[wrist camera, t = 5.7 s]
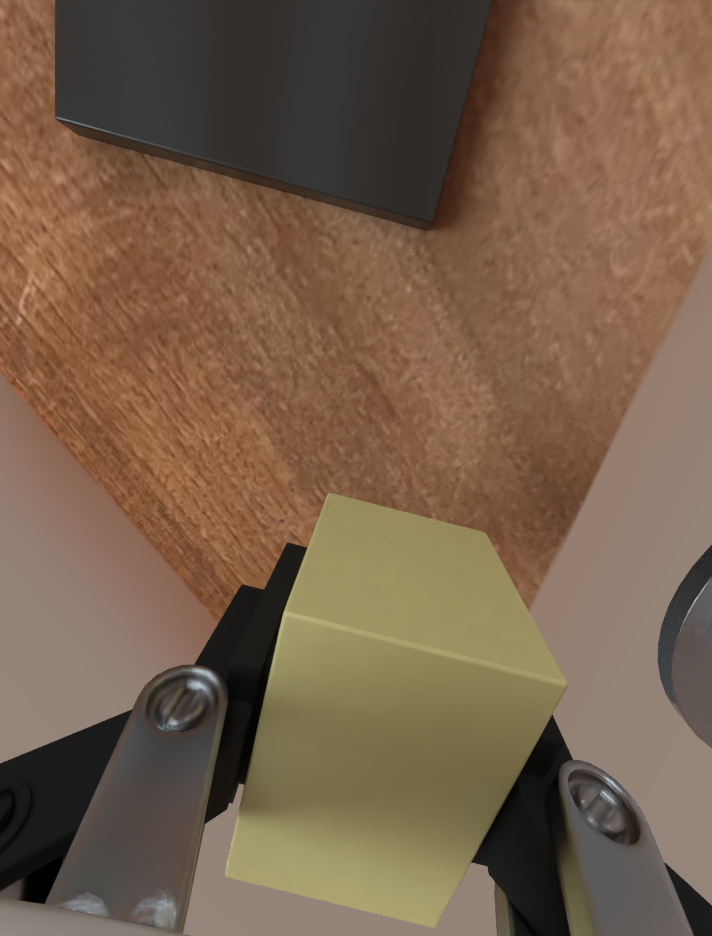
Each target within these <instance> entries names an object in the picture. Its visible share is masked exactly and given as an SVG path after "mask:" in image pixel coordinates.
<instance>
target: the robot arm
mask: <svg viewBox="0 0 712 936" xmlns="http://www.w3.org/2000/svg"><path fill="white" fill-rule="evenodd" d="M306 551H307V547H303V546H299V545H295V544H291V543H287V544H286V546H285V548H284V550H283V552H282V554H281V556H280V558H279V560H278V562H277V565H276V567H275V569H274V571H273V573H272V575H271V577H270V579H269V581H268V583H267V585H266V587H265V589H264V590H263V589H259V588H255V587H251V586H247V585H242V586H241V587H240V588H239V590H238V591H237V593H236V595H235V596H234V598H233V600H232V602H231V603H230V605H229V607H228V608H227V610H226V612H225V613H224V615H223V617H222V618H221V620H220V622H219V624H218V625H217V627H216V629H215V630H214V632H213V634H212V635H211V637H210V639H209V640H208V642H207V644H206V646H205V647H204V649H203V651H202V652H201V654H200V656H199V657H198V659H197V661H196V662H195V664H194V665H181V666H177V667H174V668H170V669H168V670H166V671H164V672H162V673H160V674H158V675H156V676H155V677H154V678H153V679H152V680H151V681H150V682H148V683H147V684H146V685H145V687H144V688H143V690H142V692H141V693H140V695H139V696H138V698H137V700H136V703H135V705H134V707H133V709H132V710H130V711H127V712H125V713H122V714H120V715H118V716H115V717H113V718H110V719H108V720H105V721H103V722H100V723H98V724H95V725H93V726H91V727H88V728H86V729H83V730H81V731H79V732H76V733H74V734H71V735H69V736H66V737H64V738H62V739H59V740H57V741H54V742H52V743H49V744H47V745H44V746H42V747H39V748H37V749H35V750H32V751H30V752H28V753H25V754H22V755H20V756H18V757H16V758H13V759H10V760H8V761H5V762H3V763H1V764H0V936H188V935H184V934H183V931H184V926H185V921H186V916H187V911H188V906H189V901H190V896H191V892H192V887H193V882H194V877H195V872H196V866H197V861H198V857H199V852H200V847H201V842H202V837H203V832H204V827H205V824H206V823H207V822H209V821H210V820H211V819H213V818H215V817H216V816H218V815H219V814H221V813H222V812H224V811H225V810H227V808H228V804H229V803H233V801H234V798H235V794H236V791H237V788H238V785H239V783H240V784H244V785H245V781H246V776H247V772H248V767H249V763H250V758H251V754H252V750H253V745H254V741H255V736H256V732H257V727H258V723H259V718H260V714H261V709H262V705H263V701H264V696H265V692H266V687H267V683H268V678H269V674H270V669H271V665H272V661H273V656H274V652H275V647H276V643H277V638H278V634H279V629H280V625H281V621H282V616H283V612H284V610H285V607H286V604H287V602H288V599H289V596H290V594H291V591H292V588H293V586H294V583H295V580H296V578H297V575H298V572H299V570H300V567H301V564H302V561H303V559H304V556H305V553H306ZM472 863H476V864H481V865H485V866H487V867H488V872H489V875H490V876H491V877H492V878H493V880H494V881H495V891H494V895H495V910H496V927H497V936H712V905H711V904H710V903H708V902H707V901H706V900H705V899H704V898H703V897H702V896H701V895H700V894H699V893H697V892H696V891H695V890H694V889H693V888H692V887H691V886H690V885H689V884H688V883H687V882H685V881H684V880H683V879H682V878H681V877H680V876H679V875H678V874H677V873H676V872H675V871H673V870H672V869H671V868H670V867H669V866H668V865H667V864H666V863H665V862H664V861H663V859H662V856H661V854H660V852H659V849H658V847H657V844H656V842H655V839H654V837H653V834H652V832H651V830H650V827H649V825H648V822H647V821H646V819H645V817H644V815H643V813H642V811H641V809H640V807H639V806H638V805H637V804H636V802H635V801H634V799H633V798H632V797H631V796H630V794H629V793H628V792H627V791H626V790H625V789H624V788H623V787H622V786H621V785H620V784H619V783H618V782H617V781H616V780H615V779H614V778H612V777H611V776H609V775H608V774H606V772H604V771H603V770H601V769H600V768H598V767H596V766H594V765H592V764H590V763H587V762H584V761H580V760H573V759H572V756H571V754H570V752H569V750H568V748H567V746H566V743H565V741H564V739H563V737H562V735H561V732H560V730H559V728H558V726H557V724H556V721H555V719H554V717H553V715H552V716H551V718H550V719H549V721H548V723H547V725H546V727H545V729H544V730H543V732H542V734H541V736H540V738H539V740H538V741H537V743H536V745H535V747H534V749H533V751H532V752H531V754H530V756H529V758H528V760H527V761H526V763H525V765H524V767H523V769H522V771H521V772H520V774H519V776H518V778H517V780H516V782H515V783H514V785H513V787H512V789H511V791H510V793H509V794H508V796H507V798H506V800H505V802H504V803H503V805H502V807H501V809H500V811H499V813H498V814H497V816H496V818H495V820H494V822H493V824H492V825H491V827H490V829H489V831H488V833H487V834H486V836H485V838H484V840H483V842H482V844H481V845H480V847H479V849H478V851H477V853H476V855H475V856H474V858H473V860H472Z"/></svg>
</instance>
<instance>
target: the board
mask: <svg viewBox="0 0 712 936" xmlns="http://www.w3.org/2000/svg"><path fill="white" fill-rule="evenodd" d="M492 2H493V0H55V117H56V119H57V120H58V121H59V122H60V123H62V124H63V125H65V126H66V127H68V128H69V129H70V130H72V131H73V132H75V133H76V134H77V135H80V136H84V137H87V138H91V139H95V140H98V141H102V142H106V143H109V144H113V145H116V146H120V147H124V148H127V149H131V150H135V151H138V152H142V153H146V154H149V155H153V156H157V157H160V158H164V159H168V160H171V161H175V162H179V163H182V164H186V165H189V166H193V167H197V168H200V169H204V170H208V171H211V172H215V173H219V174H222V175H226V176H230V177H233V178H237V179H241V180H244V181H248V182H252V183H255V184H259V185H262V186H266V187H270V188H273V189H277V190H281V191H284V192H288V193H292V194H295V195H299V196H303V197H306V198H310V199H314V200H317V201H321V202H325V203H328V204H332V205H335V206H339V207H343V208H346V209H350V210H354V211H357V212H361V213H365V214H368V215H372V216H376V217H379V218H383V219H387V220H390V221H394V222H398V223H401V224H405V225H408V226H412V227H416V228H419V229H423V230H429V228H430V227H431V225H432V223H433V221H434V217H435V213H436V210H437V206H438V202H439V199H440V195H441V191H442V187H443V184H444V180H445V176H446V173H447V169H448V165H449V161H450V158H451V154H452V150H453V147H454V143H455V139H456V135H457V132H458V128H459V124H460V121H461V117H462V113H463V109H464V106H465V102H466V98H467V95H468V91H469V87H470V84H471V80H472V76H473V72H474V69H475V65H476V61H477V58H478V54H479V50H480V46H481V43H482V39H483V35H484V32H485V28H486V24H487V20H488V17H489V13H490V9H491V6H492Z"/></svg>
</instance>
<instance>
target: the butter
mask: <svg viewBox="0 0 712 936" xmlns="http://www.w3.org/2000/svg"><path fill="white" fill-rule="evenodd" d="M566 688H567V681H566V679H565V677H564V675H563V673H562V672H561V670H560V668H559V666H558V664H557V662H556V661H555V659H554V657H553V655H552V653H551V652H550V650H549V648H548V646H547V644H546V642H545V640H544V639H543V637H542V635H541V633H540V631H539V630H538V628H537V626H536V624H535V622H534V620H533V618H532V617H531V615H530V613H529V611H528V609H527V607H526V606H525V604H524V602H523V600H522V598H521V596H520V594H519V593H518V591H517V589H516V587H515V585H514V583H513V582H512V580H511V578H510V576H509V574H508V572H507V571H506V569H505V567H504V565H503V563H502V561H501V560H500V558H499V556H498V554H497V552H496V550H495V549H494V547H493V545H492V543H491V541H490V539H489V538H488V536H487V534H486V533H485V532H482V531H478V530H474V529H470V528H466V527H462V526H458V525H454V524H450V523H446V522H442V521H439V520H435V519H431V518H427V517H423V516H419V515H415V514H411V513H407V512H403V511H399V510H395V509H392V508H388V507H384V506H380V505H376V504H372V503H368V502H364V501H360V500H356V499H352V498H349V497H345V496H341V495H337V494H333V493H328V495H327V497H326V500H325V503H324V505H323V508H322V511H321V513H320V516H319V519H318V521H317V524H316V527H315V529H314V532H313V535H312V537H311V540H310V543H309V545H308V548H307V551H306V553H305V556H304V559H303V561H302V564H301V567H300V570H299V572H298V575H297V578H296V580H295V583H294V586H293V588H292V591H291V594H290V596H289V599H288V602H287V604H286V607H285V610H284V612H283V616H282V621H281V625H280V629H279V634H278V638H277V643H276V647H275V652H274V656H273V661H272V665H271V669H270V674H269V678H268V683H267V687H266V692H265V696H264V701H263V705H262V709H261V714H260V718H259V723H258V727H257V732H256V736H255V741H254V745H253V750H252V754H251V758H250V763H249V767H248V772H247V776H246V781H245V785H244V790H243V794H242V798H241V803H240V807H239V812H238V817H237V821H236V825H235V830H234V834H233V839H232V844H231V847H230V852H229V857H228V861H227V866H226V870H225V876H226V877H229V878H233V879H237V880H241V881H245V882H249V883H253V884H257V885H262V886H266V887H270V888H274V889H278V890H282V891H286V892H290V893H294V894H298V895H302V896H306V897H311V898H315V899H319V900H323V901H327V902H331V903H335V904H339V905H343V906H347V907H351V908H355V909H360V910H364V911H368V912H372V913H376V914H380V915H384V916H388V917H392V918H396V919H400V920H405V921H409V922H413V923H417V924H421V925H425V926H429V927H433V928H434V927H436V926H437V924H438V922H439V920H440V918H441V917H442V915H443V913H444V911H445V909H446V907H447V906H448V904H449V902H450V900H451V898H452V897H453V895H454V893H455V891H456V889H457V887H458V886H459V884H460V882H461V880H462V878H463V876H464V875H465V873H466V871H467V869H468V867H469V865H470V864H471V862H472V860H473V858H474V856H475V855H476V853H477V851H478V849H479V847H480V845H481V844H482V842H483V840H484V838H485V836H486V834H487V833H488V831H489V829H490V827H491V825H492V824H493V822H494V820H495V818H496V816H497V814H498V813H499V811H500V809H501V807H502V805H503V803H504V802H505V800H506V798H507V796H508V794H509V793H510V791H511V789H512V787H513V785H514V783H515V782H516V780H517V778H518V776H519V774H520V772H521V771H522V769H523V767H524V765H525V763H526V761H527V760H528V758H529V756H530V754H531V752H532V751H533V749H534V747H535V745H536V743H537V741H538V740H539V738H540V736H541V734H542V732H543V730H544V729H545V727H546V725H547V723H548V721H549V719H550V718H551V716H552V714H553V712H554V710H555V709H556V707H557V705H558V703H559V701H560V699H561V697H562V696H563V694H564V692H565V690H566Z"/></svg>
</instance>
